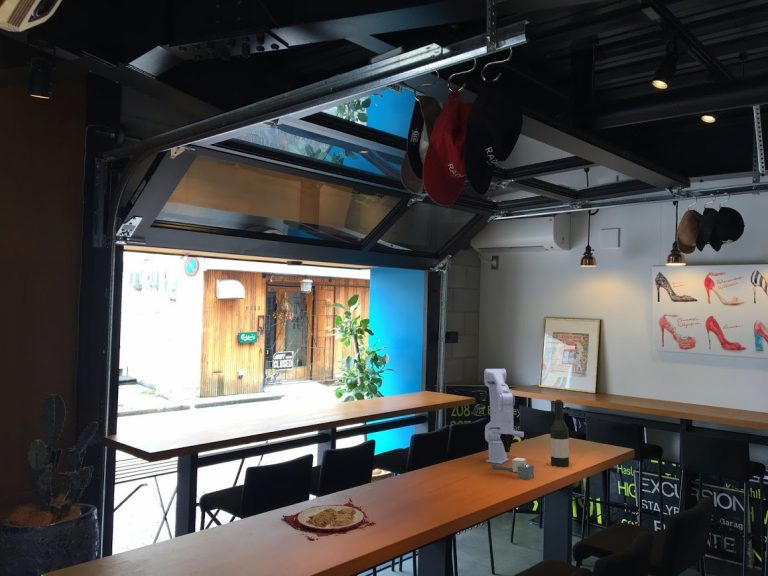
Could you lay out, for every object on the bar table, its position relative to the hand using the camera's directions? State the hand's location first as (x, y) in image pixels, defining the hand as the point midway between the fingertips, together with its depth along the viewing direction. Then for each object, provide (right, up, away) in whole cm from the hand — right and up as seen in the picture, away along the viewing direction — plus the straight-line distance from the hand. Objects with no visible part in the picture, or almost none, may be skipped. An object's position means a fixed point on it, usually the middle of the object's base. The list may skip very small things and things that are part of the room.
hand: (507, 452), depth 261 cm
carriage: (+6, -10, +4) cm, 13 cm away
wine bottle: (+28, -11, +16) cm, 34 cm away
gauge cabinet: (+7, -10, -5) cm, 13 cm away
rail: (+3, -10, +6) cm, 12 cm away
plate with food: (-72, -9, -58) cm, 92 cm away
